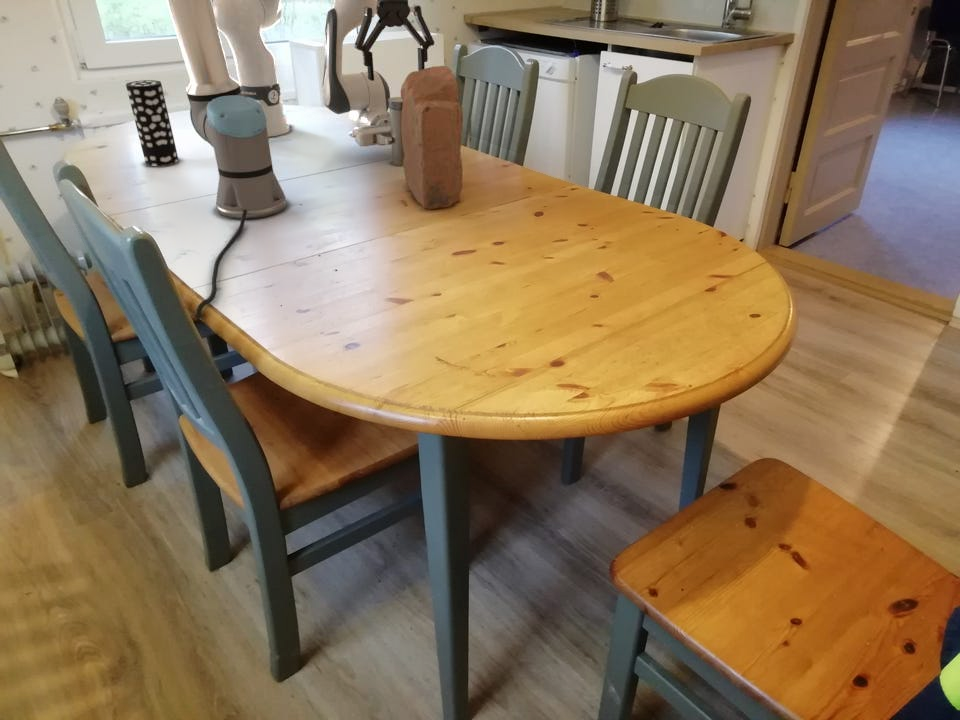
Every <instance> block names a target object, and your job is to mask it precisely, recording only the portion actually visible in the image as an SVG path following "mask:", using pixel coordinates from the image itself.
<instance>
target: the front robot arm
mask: <svg viewBox="0 0 960 720" xmlns="http://www.w3.org/2000/svg"><path fill="white" fill-rule="evenodd" d="M166 2H167V6H168V9H169V13H170V16H171V19H172V23H173V26H174V30H175V33H176V36H177V40H178V43H179V47H180V51H181V55H182V57H183V60H184V64H185V67H186V71H187V74H188V78H189V81H190V82H189V85H188V87H186V90H185V92H186V96H187V99H188V102H189V106H190V109H189V118H190V121H191V124H192V127H193V129H194V130H195V132H196V133H197V134H198V135H199V137H200V138H201V139H202V140H203V141H205V142H207V143H208V144H209V145H210V146H211V147H212V148H213V151H214V156H215V161H216V167H217V169H218V170H217V172H218V185H217V193H216V201H215V206H216V210H217V213H218V214H219V215H221V216H223V217H225V218H229V219H236V220H240V223H239V226H238V228H237V231H236V232H235V233H234V234H233V236H232V237H231V238H230V240H229V241H228V243H226V245H225V246H224V247H223V248H222V249H221V251H220V252H219V254H218V255H217V258H216V259H215V262H214V265H213V270H212V276H211V291H210V294H209V296H208V297H207V298H206V299H204V300H202V301H201V302H200V303H198V305H197V308H196V310H195V319H197V320H198V319H200V318H201V314H202V311H203V309H204V307H205V306H206V305H208V304H210V303H211V302H212V301H214V299H215V297H216V294H217V280H218V279H217V278H218V272H219V267H220V264H221V261H222V260H223V257H224V256H225V254H226V253H227V252H228V251H229V249H230V248H231V247H232V246H233V244H234V243H235V241H236V240H237V239H238V237H239V236H240V235H241V233H242V231H243V229H244V226H245V222H246V221H245V220H253V219H260V218H261V219H262V218H265V217H266V218H267V217H270V216H274V215H276V214H278V213H280V212H282V211H283V210H285V209H286V207H287V199H286V194H285V193H284V191H283V189H282V187H281V184H280V182H279V180H278V179H277V177H276V175H275V172H274V167H273V160H272V154H271V147H270V140H269V137H268V133H267V126H266V122H267V121H266V116H265V114H264V110H263V107H262V105H261V104H260V103H259V102H258V101H257V100H255V99H253V98H250V97H244V96H242V92H241V89H240V85H239V81H237V80H236V79H234V77H232V76H231V74H230V69H229V67H228V62H227V58H226V55H225V51H224V47H223V44H222V39H221V35H220V33H219V32H220V31H219V30H218V27H217V23H216V20H215V16H214V12H213V8H212V1H211V0H166ZM410 13H411V15H412V16H414V18H415V21H416V24H417V25H418V28H419V29H420V31H421V33H422V36H423V37H422V36H421V35H420V33H419V32H418V30H417V29H416V28H415V27H414V25H413V24H412V22H411V21H410V20H409V19H408V17H409V15H410ZM375 15H377V17H378V18H379V19H378V20H377V22H376V24H375V25H374V27H373V29H372V30H371V32H370V34H369V36H368V32H369V29H370V26H371V23H372V21H373V18H375ZM402 26H403V27H404V28H405V29H406V30H407V32H408V33H409V34H410V35H411V36H412V38H413V39H414V40H415V42H416V43H417V44H418V45H419V47H417V69H418V70H417V71H420V70H423V69H426V68H425V67H426V65H425V63H427V62H428V59H429V57H428V49H429V48H430V47H431V46H433V47H434V45H435V41H434V38H433V36H432V34H431V32H430V30H429V28H428V27H429V26H428V25H427V23H426V20H425V19H424V17H423V12H422V7H421V6H420V5H419V4H413V5H412V6H410V5H409V0H377V8H370V7H365V15H364V19H363V22H362V25H360V28H359V31H358V34H357V37H356V40H355V42H354V45H353V47H354V49H356V50H358V51H361V53H362V64H363V66H364V67H367V68H366V69H367V72H368V79H369V80H371V81H374V71H375V69H374V58H373V52H372V51H370V50H371V49H372V47H373V46H374V44H375V43H376V41H377V40H378V38H379V37H380V36H381V34H382V32H383V31H384V30H385V28H386V27H387V28H393V27H398V28H400V27H402ZM367 36H368V37H367ZM366 37H367V38H366Z"/></svg>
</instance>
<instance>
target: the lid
mask: <svg viewBox="0 0 960 720" xmlns="http://www.w3.org/2000/svg"><path fill="white" fill-rule="evenodd" d="M388 107H389V108H388V109H389V110H390V109H394V110H402V108H403V101H402V98H401V96H394V97H390V98H389V99H388Z"/></svg>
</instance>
